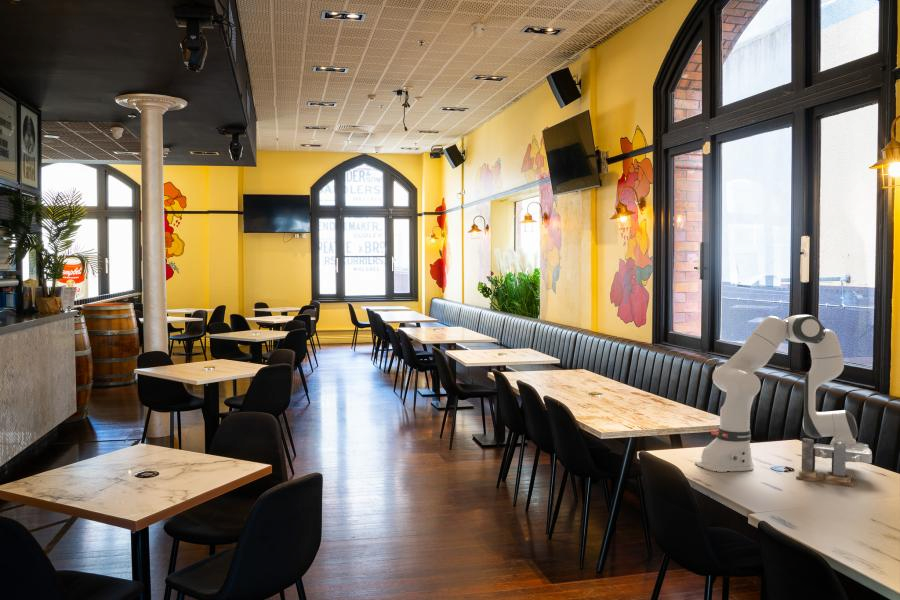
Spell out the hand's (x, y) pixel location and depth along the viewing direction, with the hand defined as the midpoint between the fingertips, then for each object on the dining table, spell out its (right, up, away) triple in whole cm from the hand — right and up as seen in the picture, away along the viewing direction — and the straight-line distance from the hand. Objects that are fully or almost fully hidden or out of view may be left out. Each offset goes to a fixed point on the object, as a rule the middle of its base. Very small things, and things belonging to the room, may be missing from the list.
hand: (838, 458), depth 257 cm
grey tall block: (0, -8, +1) cm, 8 cm away
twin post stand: (-3, -9, +3) cm, 10 cm away
